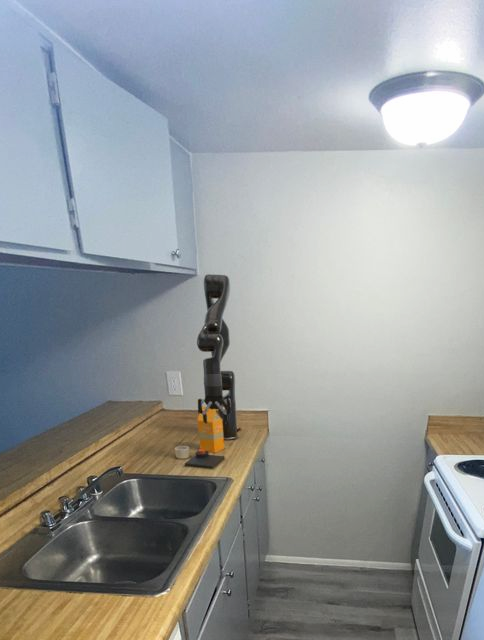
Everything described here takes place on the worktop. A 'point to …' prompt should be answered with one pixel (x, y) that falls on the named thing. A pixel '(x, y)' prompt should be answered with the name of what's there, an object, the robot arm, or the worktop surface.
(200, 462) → the scale
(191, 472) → the worktop surface
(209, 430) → the orange juice
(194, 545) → the worktop surface
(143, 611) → the worktop surface
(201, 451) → the tare button
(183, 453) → the bowl
